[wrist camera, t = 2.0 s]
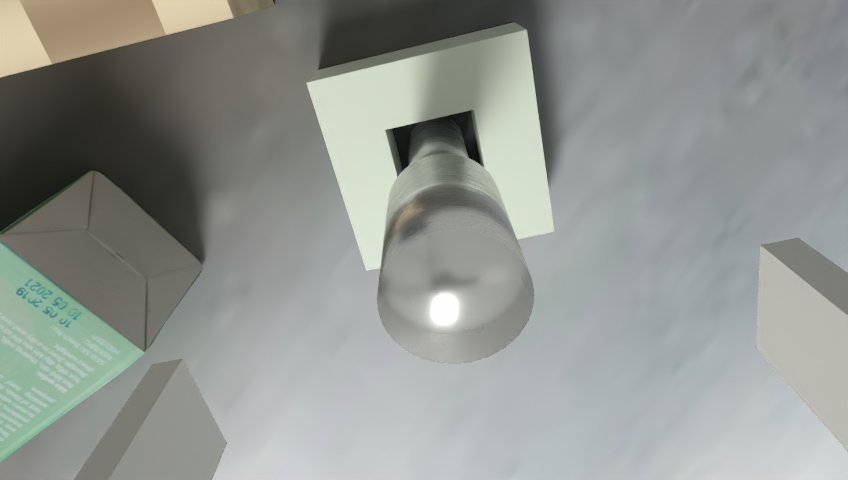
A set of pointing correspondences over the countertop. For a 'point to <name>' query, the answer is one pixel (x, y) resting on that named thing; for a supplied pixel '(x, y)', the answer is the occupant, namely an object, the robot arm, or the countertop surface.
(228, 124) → the countertop surface
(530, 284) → the silver peg
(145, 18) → the block
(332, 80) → the stand
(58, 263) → the box
